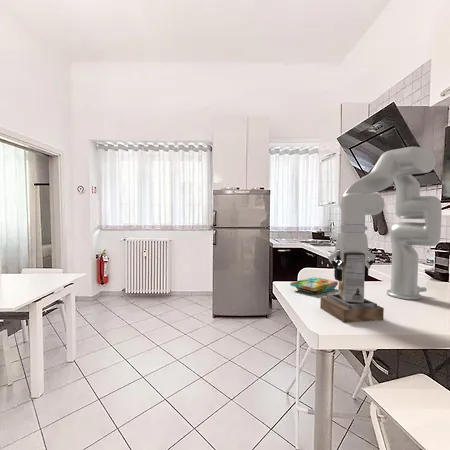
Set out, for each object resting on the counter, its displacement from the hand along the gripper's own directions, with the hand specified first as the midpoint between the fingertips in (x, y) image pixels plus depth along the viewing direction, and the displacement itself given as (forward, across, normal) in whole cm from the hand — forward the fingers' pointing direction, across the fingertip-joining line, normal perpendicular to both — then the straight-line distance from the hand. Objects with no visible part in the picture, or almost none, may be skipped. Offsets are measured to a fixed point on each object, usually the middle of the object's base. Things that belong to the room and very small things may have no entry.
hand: (351, 279), depth 94 cm
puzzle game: (+12, -4, -32) cm, 34 cm away
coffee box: (+7, 0, 0) cm, 7 cm away
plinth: (+12, 0, 0) cm, 12 cm away
